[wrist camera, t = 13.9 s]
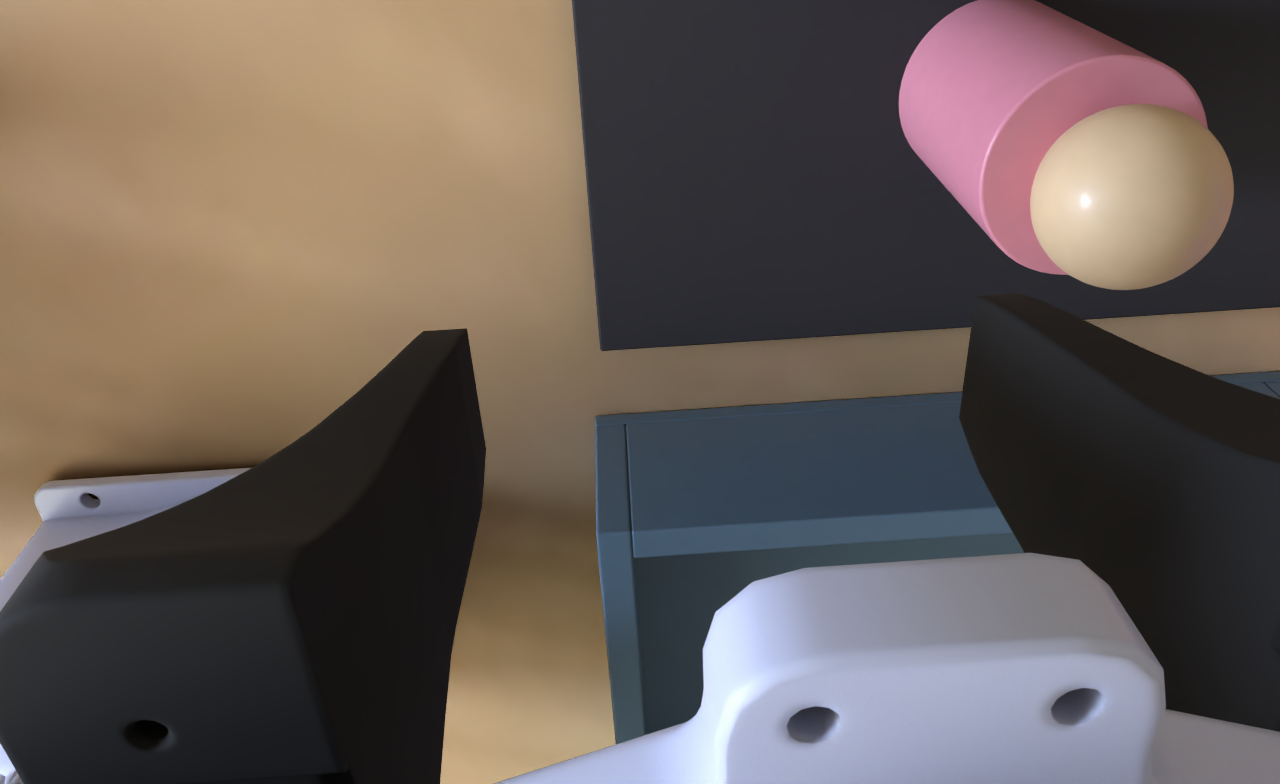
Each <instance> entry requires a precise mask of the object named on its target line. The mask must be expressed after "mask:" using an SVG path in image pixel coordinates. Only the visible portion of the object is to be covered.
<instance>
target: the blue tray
mask: <svg viewBox="0 0 1280 784" xmlns="http://www.w3.org/2000/svg"><path fill="white" fill-rule="evenodd" d="M1212 377H1214V378H1217V379H1220V380H1222V381H1225V382H1228V383H1231V384H1234V385H1237V386H1241V387H1244V388H1247V389H1250V390H1253V391H1256V392H1259V393H1262V394H1265V395H1268V396H1271V397H1275V398H1278V399H1280V371H1274V372H1259V373H1244V374H1228V375H1213V376H1212ZM961 399H962V392H953V393H938V394H923V395H907V396H892V397H877V398H862V399H846V400H831V401H816V402H800V403H785V404H770V405H755V406H739V407H724V408H709V409H693V410H678V411H663V412H648V413H632V414H617V415H602V416H596V417H595V428H596V429H595V449H596V538H597V549H598V560H599V570H600V581H601V591H602V602H603V613H604V623H605V634H606V645H607V655H608V666H609V676H610V687H611V698H612V708H613V719H614V730H615V740H616V744H619V743H622V742H625V741H628V740H631V739H635V738H638V737H641V736H644V735H647V734H650V733H653V732H656V731H659V730H663V729H666V728H669V727H672V726H675V725H678V724H681V723H684V722H687V721H689V720H690V719H691V718H693V717H694V716H695V715H696V714H697V712H698V710H699V708H700V707H701V702H702V696H703V690H704V681H703V647H704V644H705V641H706V638H707V635H708V632H709V629H710V626H711V624H712V621H713V618H714V615H715V612H716V611H717V610H719V609H720V608H721V607H722V606H724V605H725V604H726V603H727V602H728V601H730V600H731V599H732V598H733V597H735V596H736V595H737V594H738V593H739V592H741V591H742V590H743V589H744V588H746V587H747V586H748V585H749V584H751V583H752V582H754V581H757V580H761V579H765V578H769V577H772V576H776V575H780V574H784V573H787V572H791V571H795V570H798V569H802V568H810V567H825V566H840V565H855V564H870V563H884V562H899V561H914V560H929V559H944V558H959V557H974V556H989V555H1004V554H1019V553H1024V551H1023V549H1022V548H1021V546H1020V544H1019V542H1018V541H1017V539H1016V537H1015V536H1014V534H1013V532H1012V530H1011V529H1010V527H1009V525H1008V523H1007V522H1006V520H1005V518H1004V516H1003V515H1002V513H1001V511H1000V509H999V508H998V506H997V504H996V502H995V500H994V499H993V497H992V495H991V493H990V492H989V490H988V488H987V486H986V484H985V482H984V481H983V479H982V477H981V475H980V473H979V471H978V468H977V466H976V463H975V461H974V458H973V456H972V453H971V450H970V448H969V445H968V442H967V439H966V436H965V434H964V431H963V428H962V425H961V422H960V419H959V414H960V406H961Z"/></svg>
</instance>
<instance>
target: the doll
mask: <svg viewBox="0 0 1280 784" xmlns="http://www.w3.org/2000/svg"><path fill="white" fill-rule="evenodd" d="M899 116H900V121H901V126H902V129H903V132H904V135H905V137H906V139H907V141H908V143H909V145H910V146H911V148H912V149H913V150H914V152H915V153H916V154H917V155H918V156H919V158H920V159H921V160H922V161H923V162H924V163H925V164H926V166H927V167H928V168H929V169H930V170H931V171H932V172H933V174H934V175H935V176H936V177H937V178H938V179H939V180H940V182H941V183H942V184H943V185H944V186H945V187H946V188H947V189H948V191H949V192H950V193H951V194H952V195H953V196H954V197H955V199H956V200H957V201H958V202H959V203H960V204H961V205H962V207H963V208H964V209H965V210H966V211H967V212H968V213H969V215H970V216H971V217H972V218H973V219H974V220H975V221H976V222H977V224H978V225H979V226H980V227H981V228H982V229H983V230H984V232H985V233H986V234H987V235H988V236H989V237H990V238H991V240H992V241H993V242H994V243H995V244H996V245H997V246H998V247H999V248H1000V249H1001V250H1002V251H1003V252H1004V253H1005V254H1006V255H1007V256H1008V257H1010V258H1011V259H1013V260H1014V261H1015V262H1017V263H1019V264H1021V265H1023V266H1025V267H1027V268H1030V269H1033V270H1036V271H1039V272H1044V273H1049V274H1060V275H1070V276H1072V277H1074V278H1076V279H1078V280H1080V281H1082V282H1084V283H1086V284H1089V285H1092V286H1096V287H1100V288H1105V289H1111V290H1135V289H1142V288H1148V287H1151V286H1155V285H1158V284H1161V283H1164V282H1167V281H1169V280H1171V279H1174V278H1176V277H1177V276H1179V275H1181V274H1183V273H1184V272H1186V271H1187V270H1189V269H1191V268H1192V267H1193V266H1194V265H1196V264H1197V263H1198V262H1199V261H1200V260H1201V259H1202V258H1203V257H1205V256H1206V255H1207V254H1208V252H1209V251H1210V250H1211V249H1212V248H1213V246H1214V245H1215V244H1216V242H1217V241H1218V239H1219V238H1220V236H1221V234H1222V233H1223V231H1224V229H1225V227H1226V224H1227V222H1228V219H1229V216H1230V212H1231V208H1232V204H1233V197H1234V183H1233V175H1232V169H1231V166H1230V163H1229V160H1228V158H1227V155H1226V153H1225V151H1224V149H1223V148H1222V146H1221V144H1220V143H1219V141H1218V140H1217V139H1216V138H1215V137H1214V135H1213V134H1212V133H1211V132H1210V131H1209V130H1208V126H1207V121H1206V115H1205V112H1204V109H1203V106H1202V103H1201V101H1200V99H1199V97H1198V95H1197V93H1196V92H1195V90H1194V88H1193V87H1192V86H1191V85H1190V84H1189V82H1188V81H1187V80H1186V79H1185V78H1184V77H1183V76H1182V75H1181V74H1179V73H1178V72H1177V71H1176V70H1174V69H1173V68H1171V67H1169V66H1168V65H1166V64H1164V63H1162V62H1160V61H1158V60H1156V59H1154V58H1152V57H1150V56H1148V55H1146V54H1144V53H1142V52H1140V51H1138V50H1136V49H1134V48H1132V47H1130V46H1128V45H1126V44H1124V43H1122V42H1120V41H1117V40H1115V39H1113V38H1111V37H1109V36H1107V35H1105V34H1103V33H1101V32H1099V31H1097V30H1095V29H1093V28H1091V27H1089V26H1087V25H1085V24H1083V23H1081V22H1079V21H1077V20H1074V19H1072V18H1070V17H1068V16H1066V15H1064V14H1062V13H1060V12H1058V11H1056V10H1054V9H1052V8H1050V7H1048V6H1046V5H1044V4H1042V3H1040V2H1037V1H1034V0H977V1H974V2H971V3H968V4H966V5H964V6H962V7H960V8H958V9H956V10H955V11H953V12H952V13H950V14H949V15H947V16H946V17H944V18H943V19H942V20H941V21H940V22H938V23H937V24H936V25H935V26H934V27H933V28H932V29H931V30H930V31H929V32H928V33H927V34H926V35H925V37H924V38H923V39H922V41H921V42H920V43H919V44H918V46H917V48H916V49H915V51H914V52H913V54H912V56H911V58H910V60H909V62H908V64H907V66H906V69H905V72H904V75H903V78H902V82H901V87H900V92H899Z"/></svg>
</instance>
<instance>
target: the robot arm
mask: <svg viewBox="0 0 1280 784" xmlns="http://www.w3.org/2000/svg"><path fill="white" fill-rule="evenodd" d="M959 419H960V422H961V425H962V428H963V431H964V434H965V436H966V439H967V442H968V445H969V448H970V450H971V453H972V456H973V458H974V461H975V463H976V466H977V468H978V471H979V473H980V475H981V477H982V479H983V481H984V482H985V484H986V486H987V488H988V490H989V492H990V493H991V495H992V497H993V499H994V500H995V502H996V504H997V506H998V508H999V509H1000V511H1001V513H1002V515H1003V516H1004V518H1005V520H1006V522H1007V523H1008V525H1009V527H1010V529H1011V530H1012V532H1013V534H1014V536H1015V537H1016V539H1017V541H1018V542H1019V544H1020V546H1021V548H1022V549H1023V551H1024V553H1019V554H1004V555H989V556H974V557H959V558H944V559H929V560H914V561H899V562H884V563H870V564H855V565H840V566H825V567H810V568H802V569H798V570H795V571H791V572H787V573H784V574H780V575H776V576H772V577H769V578H765V579H761V580H757V581H754V582H752V583H751V584H749V585H748V586H747V587H746V588H744V589H743V590H742V591H741V592H739V593H738V594H737V595H736V596H735V597H733V598H732V599H731V600H730V601H728V602H727V603H726V604H725V605H724V606H722V607H721V608H720V609H719V610H717V611H716V612H715V615H714V618H713V621H712V624H711V626H710V629H709V632H708V635H707V638H706V641H705V644H704V647H703V681H704V690H703V696H702V702H701V707H700V708H699V710H698V712H697V714H696V715H695V716H694V717H693V718H691V719H690V720H689V721H687V722H684V723H681V724H678V725H675V726H672V727H669V728H666V729H663V730H659V731H656V732H653V733H650V734H647V735H644V736H641V737H638V738H635V739H631V740H628V741H625V742H622V743H619V744H616V745H613V746H610V747H606V748H603V749H600V750H597V751H594V752H591V753H588V754H585V755H581V756H578V757H575V758H572V759H569V760H566V761H563V762H560V763H556V764H553V765H550V766H547V767H544V768H541V769H538V770H535V771H532V772H528V773H525V774H522V775H519V776H516V777H513V778H510V779H507V780H503V781H500V782H497V783H494V784H1280V399H1278V398H1275V397H1271V396H1268V395H1265V394H1262V393H1259V392H1256V391H1253V390H1250V389H1247V388H1244V387H1241V386H1237V385H1234V384H1231V383H1228V382H1225V381H1222V380H1220V379H1217V378H1214V377H1212V376H1209V375H1206V374H1203V373H1201V372H1198V371H1196V370H1193V369H1191V368H1189V367H1186V366H1184V365H1181V364H1179V363H1176V362H1174V361H1171V360H1169V359H1167V358H1164V357H1162V356H1159V355H1157V354H1155V353H1153V352H1150V351H1148V350H1146V349H1144V348H1141V347H1139V346H1137V345H1135V344H1133V343H1130V342H1128V341H1126V340H1124V339H1122V338H1120V337H1118V336H1115V335H1113V334H1111V333H1109V332H1107V331H1105V330H1103V329H1101V328H1099V327H1096V326H1094V325H1092V324H1090V323H1088V322H1086V321H1084V320H1082V319H1080V318H1078V317H1076V316H1074V315H1071V314H1069V313H1067V312H1065V311H1063V310H1061V309H1059V308H1056V307H1054V306H1052V305H1050V304H1048V303H1045V302H1043V301H1040V300H1038V299H1036V298H1033V297H1030V296H1027V295H1024V294H1021V293H1010V294H995V295H979V296H976V298H975V305H974V313H973V320H972V327H971V334H970V342H969V349H968V356H967V363H966V370H965V378H964V385H963V392H962V399H961V406H960V414H959ZM485 455H486V446H485V440H484V434H483V428H482V421H481V415H480V409H479V402H478V396H477V390H476V384H475V377H474V371H473V365H472V358H471V352H470V346H469V340H468V333H467V329H452V330H436V331H423V332H422V333H421V334H420V335H418V336H417V337H416V338H415V339H414V340H413V341H412V342H411V343H410V344H409V345H408V346H406V347H405V348H404V349H403V350H402V351H401V352H400V353H399V354H398V355H397V356H396V357H395V358H394V359H393V360H392V361H391V362H390V363H389V364H388V365H387V366H386V367H385V368H383V369H382V370H381V371H380V372H379V373H378V374H377V375H376V376H375V377H374V378H373V379H372V380H370V381H369V382H368V383H367V384H366V385H365V386H364V387H363V388H362V389H361V390H360V391H358V392H357V393H356V394H355V395H354V396H353V397H351V398H350V399H349V400H348V401H346V402H345V403H344V404H343V405H342V406H340V407H339V408H338V409H337V410H335V411H334V412H333V413H332V414H330V415H329V416H328V417H327V418H326V419H324V420H323V421H322V422H321V423H319V424H318V425H317V426H316V427H314V428H313V429H312V430H310V431H309V432H308V433H306V434H305V435H303V436H302V437H300V438H299V439H298V440H296V441H295V442H293V443H292V444H290V445H289V446H287V447H286V448H284V449H282V450H281V451H279V452H278V453H276V454H275V455H273V456H272V457H270V458H268V459H267V460H265V461H263V462H262V463H260V464H258V465H257V466H255V467H253V468H238V469H223V470H208V471H192V472H177V473H162V474H147V475H132V476H116V477H101V478H86V479H71V480H56V481H49V482H45V483H44V484H43V485H41V486H40V488H39V489H38V490H37V492H36V493H35V496H34V501H35V505H36V507H37V509H38V511H39V513H40V516H41V518H42V520H43V523H42V524H41V525H40V527H39V528H38V529H37V531H36V532H35V533H34V535H33V536H32V537H31V539H30V540H29V542H28V543H27V544H26V546H25V547H24V548H23V550H22V551H21V552H20V554H19V555H18V556H17V558H16V559H15V560H14V562H13V563H12V565H11V566H10V567H9V569H8V570H7V571H6V573H5V574H4V575H3V577H2V578H1V579H0V784H440V774H441V762H442V749H443V737H444V725H445V713H446V703H447V692H448V682H449V672H450V661H451V653H452V647H453V641H454V635H455V629H456V624H457V619H458V615H459V610H460V605H461V601H462V596H463V592H464V587H465V583H466V578H467V574H468V569H469V565H470V560H471V555H472V551H473V546H474V542H475V537H476V532H477V527H478V523H479V518H480V513H481V508H482V500H483V487H484V472H485ZM87 493H91V494H94V495H95V496H97V497H98V498H99V499H100V500H97V499H93V498H91V497H89V495H88V494H87Z"/></svg>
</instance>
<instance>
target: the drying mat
mask: <svg viewBox="0 0 1280 784" xmlns="http://www.w3.org/2000/svg"><path fill="white" fill-rule="evenodd" d="M974 1H977V0H572V5H573V18H574V30H575V42H576V55H577V67H578V79H579V92H580V104H581V116H582V129H583V141H584V153H585V166H586V178H587V190H588V202H589V215H590V227H591V239H592V252H593V264H594V276H595V289H596V301H597V313H598V326H599V338H600V349H601V350H602V351H608V350H623V349H638V348H654V347H669V346H685V345H700V344H716V343H731V342H747V341H762V340H777V339H793V338H808V337H824V336H839V335H855V334H870V333H885V332H901V331H916V330H932V329H947V328H963V327H972V320H973V313H974V305H975V298H976V296H979V295H995V294H1010V293H1021V294H1024V295H1027V296H1030V297H1033V298H1036V299H1038V300H1040V301H1043V302H1045V303H1048V304H1050V305H1052V306H1054V307H1056V308H1059V309H1061V310H1063V311H1065V312H1067V313H1069V314H1071V315H1074V316H1076V317H1078V318H1080V319H1082V320H1086V319H1102V318H1117V317H1132V316H1148V315H1163V314H1179V313H1194V312H1210V311H1225V310H1241V309H1256V308H1271V307H1280V0H1034V1H1037V2H1040V3H1042V4H1044V5H1046V6H1048V7H1050V8H1052V9H1054V10H1056V11H1058V12H1060V13H1062V14H1064V15H1066V16H1068V17H1070V18H1072V19H1074V20H1077V21H1079V22H1081V23H1083V24H1085V25H1087V26H1089V27H1091V28H1093V29H1095V30H1097V31H1099V32H1101V33H1103V34H1105V35H1107V36H1109V37H1111V38H1113V39H1115V40H1117V41H1120V42H1122V43H1124V44H1126V45H1128V46H1130V47H1132V48H1134V49H1136V50H1138V51H1140V52H1142V53H1144V54H1146V55H1148V56H1150V57H1152V58H1154V59H1156V60H1158V61H1160V62H1162V63H1164V64H1166V65H1168V66H1169V67H1171V68H1173V69H1174V70H1176V71H1177V72H1178V73H1179V74H1181V75H1182V76H1183V77H1184V78H1185V79H1186V80H1187V81H1188V82H1189V84H1190V85H1191V86H1192V87H1193V88H1194V90H1195V92H1196V93H1197V95H1198V97H1199V99H1200V101H1201V103H1202V106H1203V109H1204V112H1205V115H1206V121H1207V126H1208V130H1209V131H1210V132H1211V133H1212V134H1213V135H1214V137H1215V138H1216V139H1217V140H1218V141H1219V143H1220V144H1221V146H1222V148H1223V149H1224V151H1225V153H1226V155H1227V158H1228V160H1229V163H1230V166H1231V169H1232V175H1233V183H1234V197H1233V204H1232V208H1231V212H1230V216H1229V219H1228V222H1227V224H1226V227H1225V229H1224V231H1223V233H1222V234H1221V236H1220V238H1219V239H1218V241H1217V242H1216V244H1215V245H1214V246H1213V248H1212V249H1211V250H1210V251H1209V252H1208V254H1207V255H1206V256H1205V257H1203V258H1202V259H1201V260H1200V261H1199V262H1198V263H1197V264H1196V265H1194V266H1193V267H1192V268H1191V269H1189V270H1187V271H1186V272H1184V273H1183V274H1181V275H1179V276H1177V277H1176V278H1174V279H1171V280H1169V281H1167V282H1164V283H1161V284H1158V285H1155V286H1151V287H1148V288H1142V289H1135V290H1111V289H1105V288H1100V287H1096V286H1092V285H1089V284H1086V283H1084V282H1082V281H1080V280H1078V279H1076V278H1074V277H1072V276H1070V275H1060V274H1049V273H1044V272H1039V271H1036V270H1033V269H1030V268H1027V267H1025V266H1023V265H1021V264H1019V263H1017V262H1015V261H1014V260H1013V259H1011V258H1010V257H1008V256H1007V255H1006V254H1005V253H1004V252H1003V251H1002V250H1001V249H1000V248H999V247H998V246H997V245H996V244H995V243H994V242H993V241H992V240H991V238H990V237H989V236H988V235H987V234H986V233H985V232H984V230H983V229H982V228H981V227H980V226H979V225H978V224H977V222H976V221H975V220H974V219H973V218H972V217H971V216H970V215H969V213H968V212H967V211H966V210H965V209H964V208H963V207H962V205H961V204H960V203H959V202H958V201H957V200H956V199H955V197H954V196H953V195H952V194H951V193H950V192H949V191H948V189H947V188H946V187H945V186H944V185H943V184H942V183H941V182H940V180H939V179H938V178H937V177H936V176H935V175H934V174H933V172H932V171H931V170H930V169H929V168H928V167H927V166H926V164H925V163H924V162H923V161H922V160H921V159H920V158H919V156H918V155H917V154H916V153H915V152H914V150H913V149H912V148H911V146H910V145H909V143H908V141H907V139H906V137H905V135H904V132H903V129H902V126H901V121H900V116H899V92H900V87H901V82H902V78H903V75H904V72H905V69H906V66H907V64H908V62H909V60H910V58H911V56H912V54H913V52H914V51H915V49H916V48H917V46H918V44H919V43H920V42H921V41H922V39H923V38H924V37H925V35H926V34H927V33H928V32H929V31H930V30H931V29H932V28H933V27H934V26H935V25H936V24H937V23H938V22H940V21H941V20H942V19H943V18H944V17H946V16H947V15H949V14H950V13H952V12H953V11H955V10H956V9H958V8H960V7H962V6H964V5H966V4H968V3H971V2H974Z"/></svg>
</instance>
